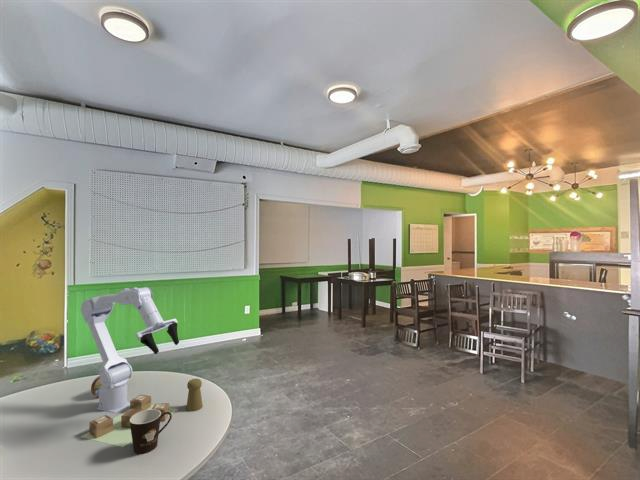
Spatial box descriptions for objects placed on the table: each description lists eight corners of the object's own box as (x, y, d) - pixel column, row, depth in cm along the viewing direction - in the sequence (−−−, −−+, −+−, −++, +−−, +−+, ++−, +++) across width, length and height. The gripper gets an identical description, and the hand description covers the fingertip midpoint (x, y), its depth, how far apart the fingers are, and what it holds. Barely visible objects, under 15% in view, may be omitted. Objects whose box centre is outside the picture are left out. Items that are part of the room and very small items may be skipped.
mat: (80, 438, 106) (80, 436, 106) (141, 403, 129) (141, 402, 129) (122, 448, 101) (122, 447, 101) (178, 410, 124) (178, 409, 124)
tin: (94, 400, 132) (94, 379, 132) (89, 399, 133) (89, 378, 133) (129, 385, 145) (129, 367, 145) (125, 384, 147) (125, 365, 147)
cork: (197, 413, 121) (197, 383, 122) (182, 411, 123) (182, 382, 123) (205, 405, 127) (205, 377, 128) (192, 403, 129) (192, 376, 129)
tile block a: (89, 433, 108) (89, 420, 108) (105, 426, 112) (105, 414, 112) (96, 438, 105) (96, 425, 105) (113, 430, 110) (113, 418, 110)
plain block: (121, 427, 112) (121, 415, 112) (131, 419, 117) (131, 408, 117) (134, 428, 111) (134, 416, 111) (144, 420, 116) (144, 409, 116)
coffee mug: (127, 461, 95) (127, 426, 95) (131, 444, 103) (131, 412, 103) (171, 450, 100) (171, 418, 100) (171, 435, 108) (171, 405, 108)
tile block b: (149, 422, 115) (149, 410, 115) (155, 414, 120) (155, 403, 120) (164, 421, 115) (164, 409, 116) (169, 413, 120) (169, 402, 120)
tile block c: (130, 411, 122) (130, 400, 122) (140, 405, 127) (140, 394, 127) (141, 412, 121) (141, 401, 121) (151, 406, 126) (151, 395, 126)
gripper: (133, 318, 111) (151, 352, 108) (173, 304, 123) (189, 335, 120) (128, 327, 115) (144, 360, 112) (166, 313, 127) (182, 343, 123)
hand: (167, 348), depth 116 cm, fingers open, 7 cm apart
